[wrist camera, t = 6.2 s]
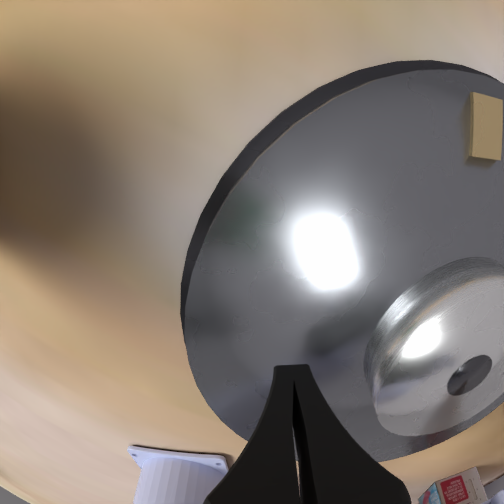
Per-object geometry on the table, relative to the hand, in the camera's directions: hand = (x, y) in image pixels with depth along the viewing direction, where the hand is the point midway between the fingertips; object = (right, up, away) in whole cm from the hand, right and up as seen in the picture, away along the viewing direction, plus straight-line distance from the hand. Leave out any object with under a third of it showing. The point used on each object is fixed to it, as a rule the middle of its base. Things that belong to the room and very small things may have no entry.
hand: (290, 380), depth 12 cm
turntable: (+8, +2, +2) cm, 8 cm away
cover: (+8, +1, 0) cm, 8 cm away
